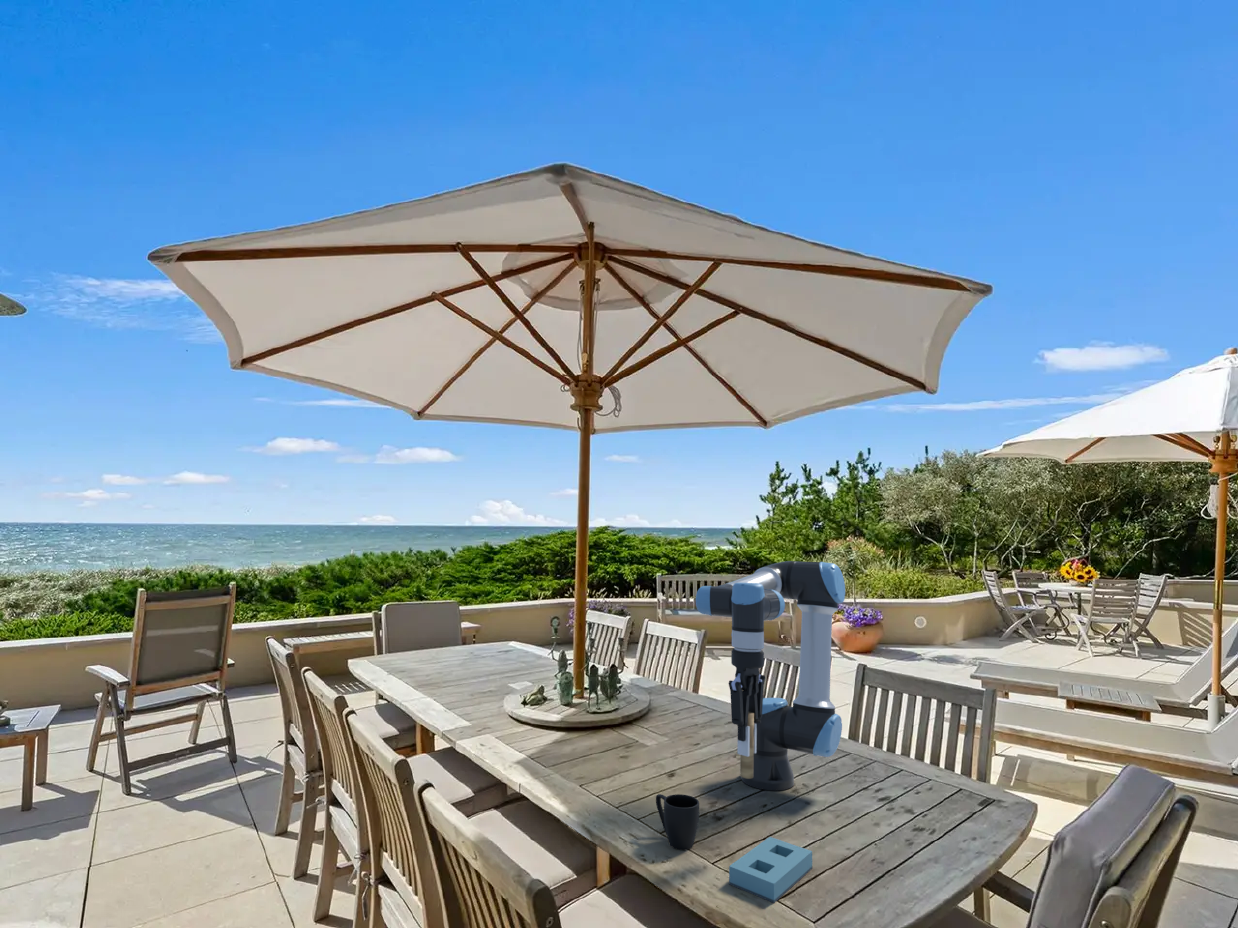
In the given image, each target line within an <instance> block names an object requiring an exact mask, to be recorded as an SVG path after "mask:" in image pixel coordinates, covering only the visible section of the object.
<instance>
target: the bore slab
mask: <svg viewBox="0 0 1238 928" xmlns="http://www.w3.org/2000/svg"><path fill="white" fill-rule="evenodd" d="M812 869H813V851H812V850H810V849H807V848H804V847H801V846H798V845H795V844H792V843H790V842H787V841H784V840H781V839H778V838H775V837H772V836H769V837H767V838H765V840H763V841H761V842H760V843H759V844H758V845H757V846H755V847H753V848H752V849H751V850H749V851H748V852H747V853H745V854H743V856H741V857H739V858H738V859H737V860H735V861H734V862H732V863H731V864H729V867H728V871H729V872H728V876H729V878H728V884H729V886H732V887H735V888H737V889H739V890H742V891H743V892H747V893H749V894H752V895H754V896H756V897H759V898H761V899H763V900H766V901H768V902H771V903H773V904H775V903H776V902H777V901H778V900H779V899H780V898H782V896H784V895H785V894H786V893H788V891H789V890H790V889H791V888H793V886H795V885H796V884H797V883H798V882H799V881H801V879H802V878H803V877H805V876H806V875H807V874H808V873H809V872H810V871H811V870H812Z"/></svg>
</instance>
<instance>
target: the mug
mask: <svg viewBox="0 0 1238 928" xmlns="http://www.w3.org/2000/svg"><path fill="white" fill-rule="evenodd" d="M662 800H663V805H662ZM655 804H656V808H657V811H658V816H659V818H660V822H661V824H662V827H663V831H664V832H665V834H666V836H667V840H668V845H669V847H671V848H672V849H673V850H678V851H688V850H690V849H692V848H693V847H694V844H695V843H694V842H695V839H696V838H697V837H696V836H697V833H698V828H699V821H700V800H699V799H697V798H696V797H694V796H692V795H689V794H680V793H679V794H678V793H677V794H670V795H668V796H666V795H664V794H661V793H660V794H657V795H656V796H655Z"/></svg>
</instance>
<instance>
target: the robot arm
mask: <svg viewBox="0 0 1238 928" xmlns="http://www.w3.org/2000/svg"><path fill="white" fill-rule="evenodd" d="M845 584H846V583H845V579H844V576H843V573H842V571H841V568H840V567H839V566H838V565H837V564H835V563H833V562H824V561H794V560H787V561H786V560H785V561H779V562H775V563H772V564H768V565H765V566H762V567H760V568H758V569H756V570H755V571H754V573H752V574H749V575H747V576H744V577H741V578H739V579H736V580H733V581H730V582H726V583H723V584H720V585H718V586H714V585H713V586H712V585H702V586H701V587H699V588H698V590H697V591H696V594H695V606H696V609H697V611H698V612H699V613H700V614H701V615H707V616H711V617H712V616H714V617H715V616H716V617H728V618H731V646H732V650H731V655H730V656H731V658H730V659H731V660H730V661H731V665H732V666H734V667H735V675H734V677H735V678H734V679H733V680H731V679H730V680H729V681H728V687H729V691H730V708H731V709H730V711H731V723H732V724H733V725H737V755H743V756H747V757H748V756H750V726H747V725H748V712H752V713H754V772H753V778H750V779H747V778H743V777H741V776H740V779H741V781H742V782H743V783H744V784H745V785H748V786H750V787H752V788H755V789H760V790H764V791H784V790H789V789H791V788H792V787H794V784H795V774H794V772H793V768H792V765H791V763H790V759H789V755H788V750H790V751H795V752H796V751H797V752H801V753H804V754H810V755H813V756H815V757H818V756H819V757H825V758H829V757H831V756H833V755H834V754H835V753H836V751H837V749H838V747H839V745H840V742H841V737H842V732H843V731H842V730H843V723H842V717H841V716H840V715H839V714H837V713H836V706H835V705H834V704H833V702H832V701H831V698H830V697H831V696H830V695H831V665H832V664H831V661H832V660H831V659H832V658H831V657H832V633H833V632H832V630H833V628H832V626H833V623H832V622H833V621H832V620H833V614H835V612H837V611H838V609H839V608H838V607H839V605H840V604H842V603H844V601H845V599H846V598H845V596H846V585H845ZM786 599H787V600H793V601H794V600H796V606H797V607H798V608H799V610H800V611H801V624H800V625H801V629H800V651H799V652H800V653H799V655H800V656H799V658H800V659H799V680H798V695H797V697H796V698H795V699H794V700H793V701H792V706H789V702H788V701H787V699H786V698H782V697H764V687H765V686H764V685H765V681H766V676H765V674H764V675H763V674H760V670H759V669H761V668H763V667H764V666H765V653H764V651H763V649H764V648H765V633H764V632H765V629H764V628H765V627H764V626H765V621H773V620H776V619H778V618H779V617H781V616H782V614H784V611H785V609H786V603H785V600H786Z"/></svg>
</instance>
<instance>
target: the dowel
mask: <svg viewBox="0 0 1238 928" xmlns="http://www.w3.org/2000/svg"><path fill="white" fill-rule="evenodd" d="M747 726H750V756H748V757H747V756H743V755H740V754H739V755H740V757H739V758H740V760H739V762H740V764H739V765H740V766H739V768H740V769H739V771H740V772H739V776H740V778H741V777H743V778H747V779H750V778H753V772H754V713H752V712H748V725H747Z"/></svg>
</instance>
